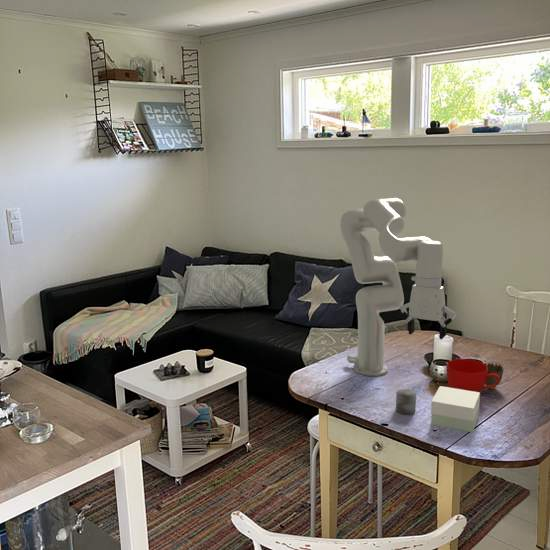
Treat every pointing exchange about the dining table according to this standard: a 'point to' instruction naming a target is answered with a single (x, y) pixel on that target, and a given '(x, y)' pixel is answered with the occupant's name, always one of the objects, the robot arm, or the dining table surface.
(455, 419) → the tower base block
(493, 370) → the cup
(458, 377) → the ceramic cup
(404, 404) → the slate drum
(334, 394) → the dining table surface
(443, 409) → the tower top block
